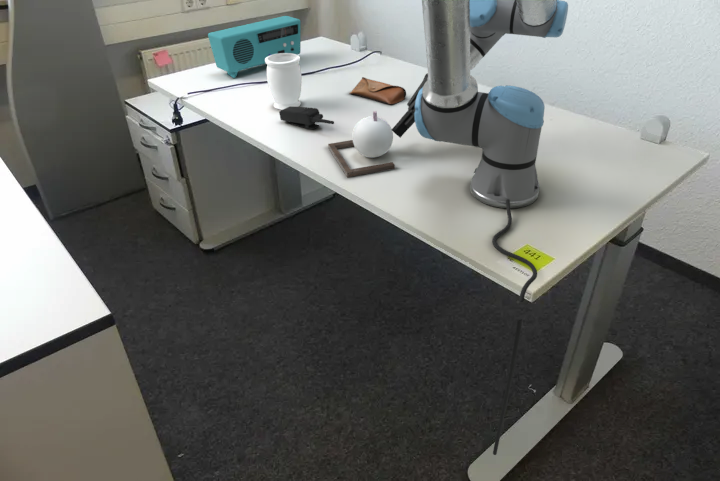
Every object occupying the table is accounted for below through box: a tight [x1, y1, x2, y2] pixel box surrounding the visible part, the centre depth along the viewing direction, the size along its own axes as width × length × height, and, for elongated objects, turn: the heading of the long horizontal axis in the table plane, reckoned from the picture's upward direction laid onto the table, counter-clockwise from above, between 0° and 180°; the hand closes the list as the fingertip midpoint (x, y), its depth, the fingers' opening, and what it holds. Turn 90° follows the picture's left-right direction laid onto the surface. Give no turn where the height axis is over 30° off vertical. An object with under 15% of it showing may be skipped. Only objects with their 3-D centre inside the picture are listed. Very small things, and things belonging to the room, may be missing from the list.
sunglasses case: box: [348, 76, 407, 105], centre depth 176 cm, size 18×7×7 cm, turn 52°
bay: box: [327, 139, 396, 178], centre depth 141 cm, size 18×12×1 cm
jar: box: [265, 53, 303, 111], centre depth 168 cm, size 11×10×15 cm
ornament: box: [351, 110, 394, 158], centre depth 139 cm, size 10×10×12 cm
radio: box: [207, 15, 302, 79], centre depth 200 cm, size 34×10×15 cm, turn 132°
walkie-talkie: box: [278, 106, 335, 130], centre depth 156 cm, size 6×6×20 cm
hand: (395, 133), depth 141 cm, fingers closed
